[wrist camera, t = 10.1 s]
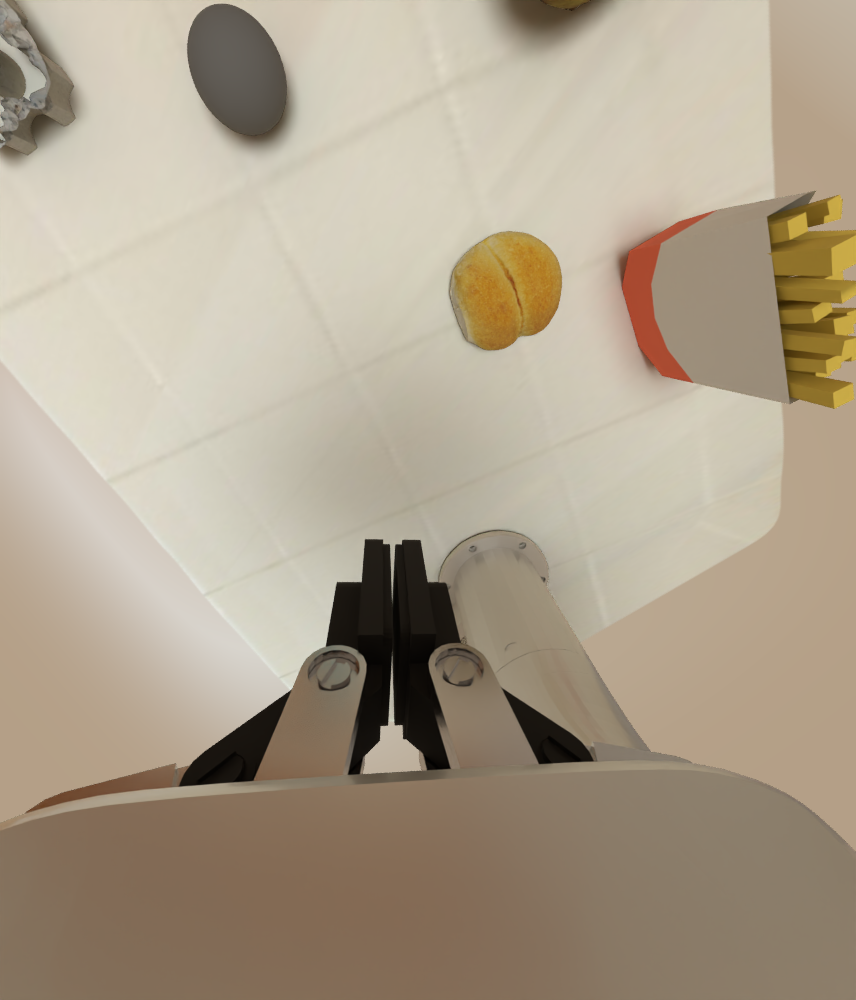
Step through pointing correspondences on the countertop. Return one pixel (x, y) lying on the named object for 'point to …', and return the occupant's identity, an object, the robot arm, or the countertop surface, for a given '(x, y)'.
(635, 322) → the french fries container
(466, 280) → the bread roll
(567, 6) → the potato
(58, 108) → the egg carton
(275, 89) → the dark gray ball
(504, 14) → the countertop surface
